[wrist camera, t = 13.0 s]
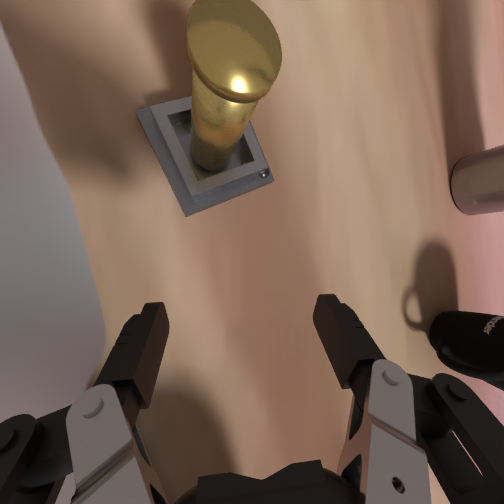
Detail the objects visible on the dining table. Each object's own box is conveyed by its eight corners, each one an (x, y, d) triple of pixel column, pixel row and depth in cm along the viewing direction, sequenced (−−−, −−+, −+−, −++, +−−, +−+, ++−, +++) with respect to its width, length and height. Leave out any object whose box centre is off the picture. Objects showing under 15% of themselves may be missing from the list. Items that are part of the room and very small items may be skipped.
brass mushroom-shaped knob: (222, 120, 20) (259, -14, 10) (241, 164, 21) (295, 81, 11) (178, 133, 19) (167, -6, 9) (200, 180, 20) (214, 102, 9)
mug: (460, 297, 33) (574, 317, 23) (465, 351, 33) (578, 393, 24) (405, 316, 29) (512, 350, 20) (412, 376, 30) (519, 438, 20)
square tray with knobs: (234, 91, 21) (240, 70, 19) (271, 182, 23) (281, 174, 20) (136, 115, 19) (128, 95, 16) (185, 217, 20) (185, 212, 18)
